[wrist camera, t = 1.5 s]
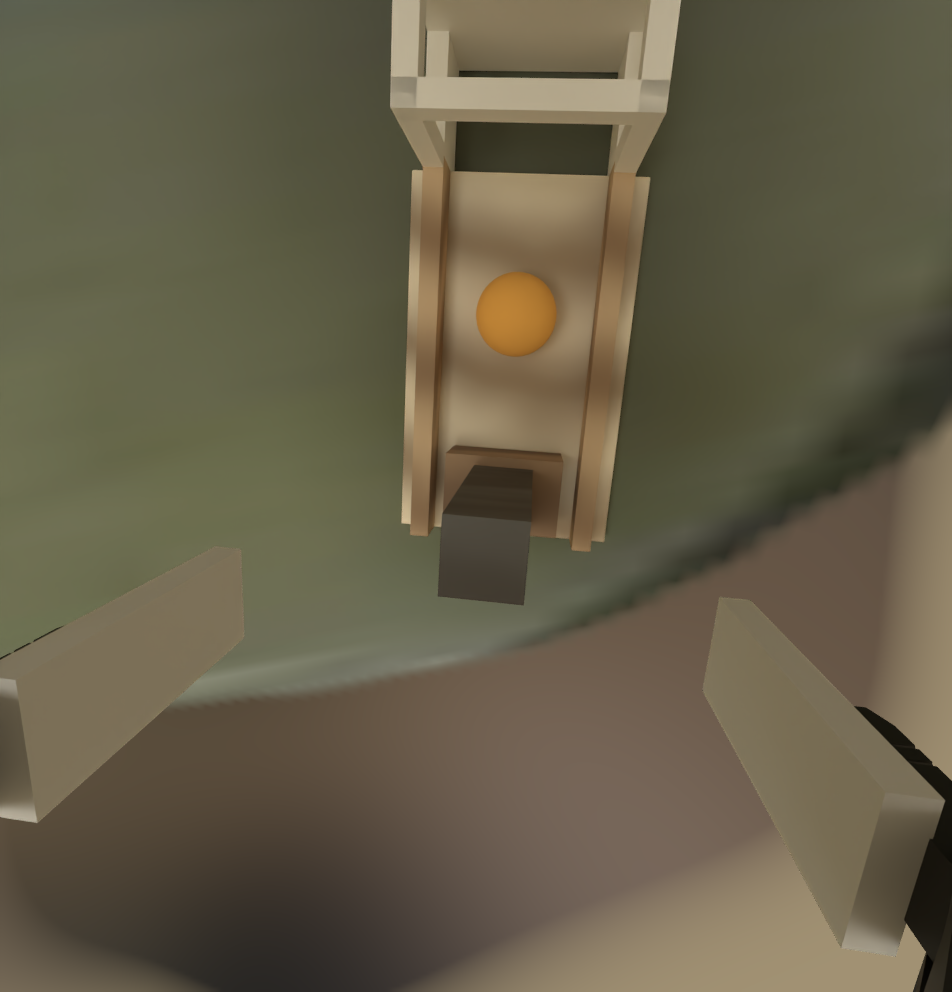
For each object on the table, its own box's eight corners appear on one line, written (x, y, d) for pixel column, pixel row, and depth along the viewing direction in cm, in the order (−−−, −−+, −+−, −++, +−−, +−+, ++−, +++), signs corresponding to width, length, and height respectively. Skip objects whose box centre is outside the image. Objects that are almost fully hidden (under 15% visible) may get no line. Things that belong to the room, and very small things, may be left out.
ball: (482, 277, 28) (474, 262, 24) (558, 281, 27) (562, 266, 24) (478, 355, 29) (469, 352, 25) (551, 359, 28) (554, 358, 24)
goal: (440, 47, 27) (394, -111, 18) (641, 48, 26) (696, -117, 17) (435, 189, 28) (390, 107, 19) (624, 195, 27) (666, 112, 18)
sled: (454, 445, 30) (398, 495, 18) (560, 453, 29) (578, 511, 17) (450, 512, 31) (395, 604, 19) (553, 522, 30) (566, 623, 18)
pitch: (417, 178, 28) (402, 154, 25) (645, 185, 27) (659, 161, 24) (406, 517, 33) (392, 532, 30) (601, 535, 32) (608, 553, 28)
